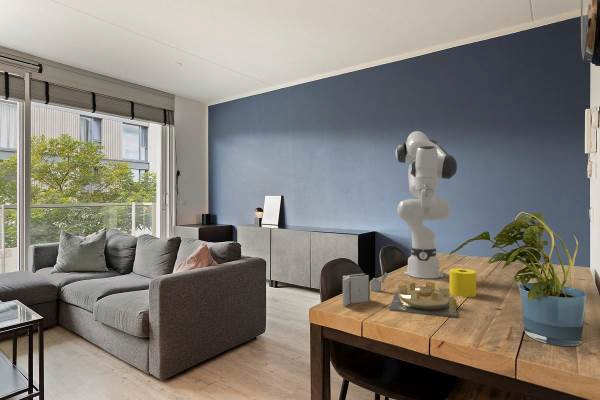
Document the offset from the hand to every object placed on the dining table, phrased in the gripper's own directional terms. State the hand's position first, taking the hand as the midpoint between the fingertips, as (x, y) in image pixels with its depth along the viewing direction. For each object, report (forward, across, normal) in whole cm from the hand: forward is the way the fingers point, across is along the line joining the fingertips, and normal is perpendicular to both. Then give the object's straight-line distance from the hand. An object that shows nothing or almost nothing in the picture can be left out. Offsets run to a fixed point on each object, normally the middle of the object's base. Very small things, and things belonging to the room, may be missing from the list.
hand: (426, 219), depth 141 cm
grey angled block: (+31, 0, +19) cm, 37 cm away
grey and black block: (+31, -19, +26) cm, 45 cm away
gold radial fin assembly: (+30, -13, +1) cm, 33 cm away
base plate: (+31, -13, +1) cm, 34 cm away
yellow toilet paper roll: (+31, +8, -14) cm, 35 cm away
